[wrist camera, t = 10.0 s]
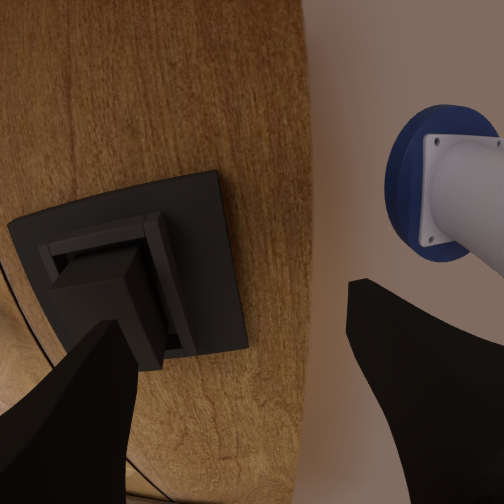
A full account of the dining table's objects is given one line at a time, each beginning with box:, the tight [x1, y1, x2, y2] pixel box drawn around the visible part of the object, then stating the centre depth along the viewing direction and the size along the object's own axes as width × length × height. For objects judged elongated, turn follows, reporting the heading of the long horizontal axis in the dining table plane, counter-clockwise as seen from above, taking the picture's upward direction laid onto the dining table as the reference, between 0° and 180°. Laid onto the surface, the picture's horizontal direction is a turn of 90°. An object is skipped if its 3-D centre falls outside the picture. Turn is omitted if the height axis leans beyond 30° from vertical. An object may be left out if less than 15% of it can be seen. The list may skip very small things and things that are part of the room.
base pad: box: [7, 170, 249, 359], centre depth 18 cm, size 14×12×2 cm
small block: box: [48, 242, 169, 372], centre depth 16 cm, size 4×6×4 cm
